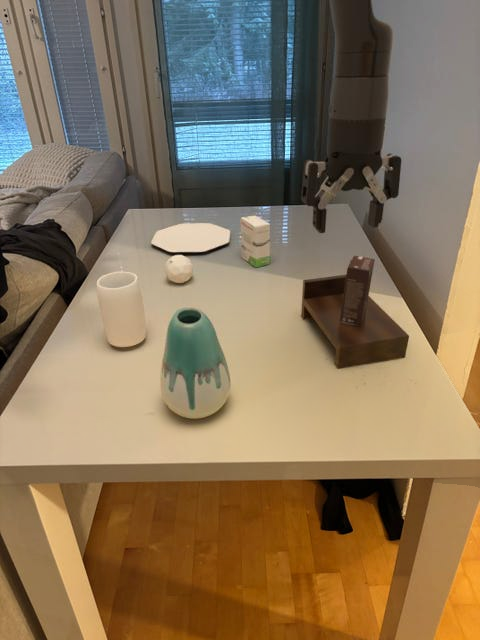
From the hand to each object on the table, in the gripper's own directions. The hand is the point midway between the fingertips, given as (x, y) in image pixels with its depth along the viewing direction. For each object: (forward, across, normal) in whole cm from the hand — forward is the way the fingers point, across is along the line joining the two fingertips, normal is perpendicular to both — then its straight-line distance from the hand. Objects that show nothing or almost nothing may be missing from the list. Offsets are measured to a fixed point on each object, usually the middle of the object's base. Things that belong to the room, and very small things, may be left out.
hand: (346, 228), depth 71 cm
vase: (+28, -25, -2) cm, 38 cm away
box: (+23, +8, +11) cm, 27 cm away
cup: (+28, -37, +21) cm, 51 cm away
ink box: (+28, -1, +54) cm, 61 cm away
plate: (+27, -17, +74) cm, 80 cm away
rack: (+28, +8, +12) cm, 32 cm away
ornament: (+28, -23, +46) cm, 59 cm away
